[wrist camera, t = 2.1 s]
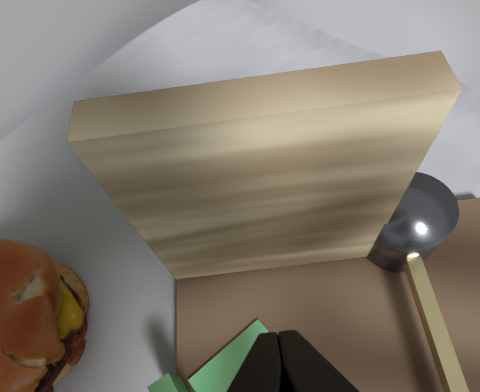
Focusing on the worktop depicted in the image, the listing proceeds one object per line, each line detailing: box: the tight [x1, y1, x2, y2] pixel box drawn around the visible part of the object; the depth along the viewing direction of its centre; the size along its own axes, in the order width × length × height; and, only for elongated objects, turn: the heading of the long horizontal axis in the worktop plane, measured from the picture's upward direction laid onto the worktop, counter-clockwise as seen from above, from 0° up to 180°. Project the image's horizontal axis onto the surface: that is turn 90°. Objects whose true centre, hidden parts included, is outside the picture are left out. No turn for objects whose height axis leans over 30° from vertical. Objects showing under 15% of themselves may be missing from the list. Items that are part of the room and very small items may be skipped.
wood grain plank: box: [67, 51, 469, 392], centre depth 13 cm, size 13×14×12 cm
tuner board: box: [147, 198, 480, 392], centre depth 17 cm, size 17×19×3 cm
